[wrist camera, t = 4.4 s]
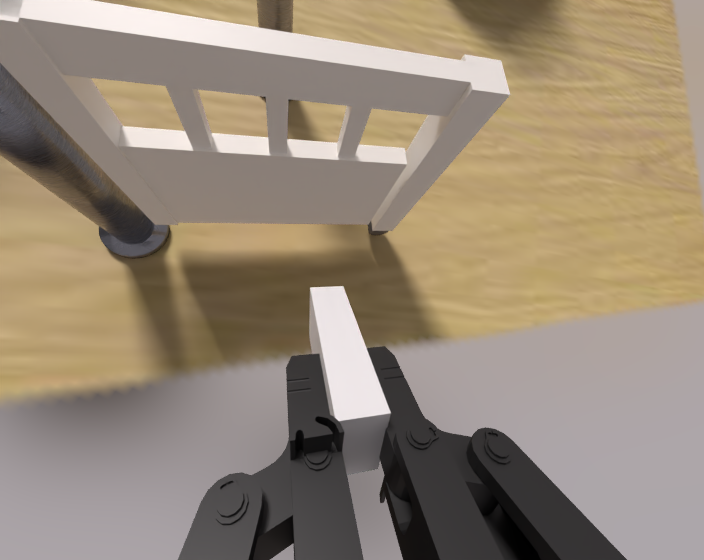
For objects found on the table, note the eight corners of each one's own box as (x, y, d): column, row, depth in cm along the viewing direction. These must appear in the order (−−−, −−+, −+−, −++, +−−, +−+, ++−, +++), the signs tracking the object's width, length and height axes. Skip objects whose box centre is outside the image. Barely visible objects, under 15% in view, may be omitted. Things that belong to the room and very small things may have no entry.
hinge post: (100, 258, 24) (-537, -88, 5) (106, 203, 25) (-398, -238, 7) (167, 257, 25) (-159, -29, 7) (170, 205, 27) (-100, -165, 8)
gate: (166, 239, 25) (-49, 18, 9) (167, 217, 26) (-35, -30, 9) (385, 238, 30) (510, 94, 14) (383, 220, 31) (501, 60, 14)
